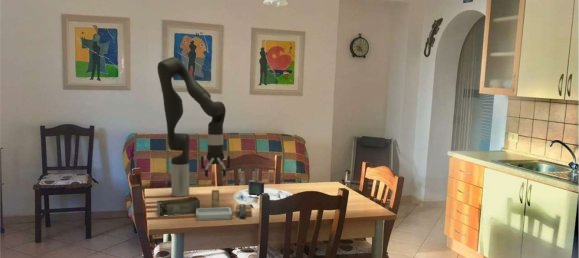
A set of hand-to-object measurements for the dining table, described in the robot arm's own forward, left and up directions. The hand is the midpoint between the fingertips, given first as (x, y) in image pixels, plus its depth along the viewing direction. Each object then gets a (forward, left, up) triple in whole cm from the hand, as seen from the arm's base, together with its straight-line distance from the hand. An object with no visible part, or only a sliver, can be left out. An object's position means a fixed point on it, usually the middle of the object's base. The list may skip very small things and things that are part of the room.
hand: (215, 176), depth 228 cm
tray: (+12, -1, -16) cm, 20 cm away
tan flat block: (+9, +13, -16) cm, 23 cm away
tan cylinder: (0, 0, -16) cm, 16 cm away
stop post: (+16, +12, -16) cm, 25 cm away
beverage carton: (+4, -17, -16) cm, 24 cm away
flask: (-18, +22, -16) cm, 33 cm away
